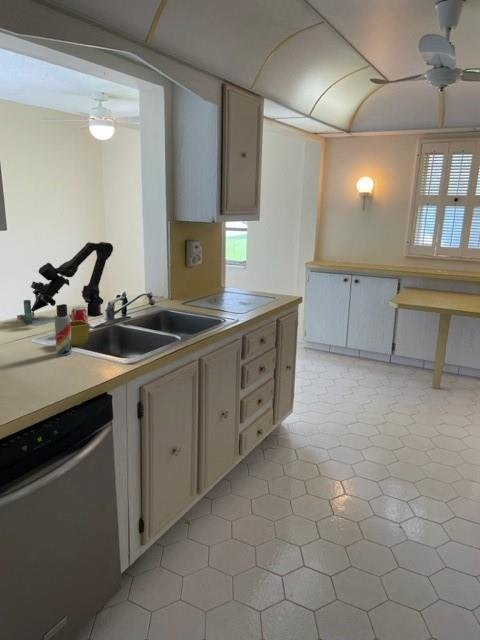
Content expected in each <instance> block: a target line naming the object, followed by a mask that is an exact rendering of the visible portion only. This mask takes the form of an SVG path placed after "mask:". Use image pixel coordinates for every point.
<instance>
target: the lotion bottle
mask: <svg viewBox="0 0 480 640" xmlns="http://www.w3.org/2000/svg"><path fill="white" fill-rule="evenodd" d="M55 305H56V304H55ZM55 308H56V315H55V316H54V319H55V322H54V331H55V332H54V333H55V348H56V350H55V351H56V354H57V356H60V357H62V356H69V355H71V354H72V353H73V347H72V346H73V345H72V342H71V323H70V322H71V315H69V314H68V305H67V303H62V304H58V305H56V307H55Z"/></svg>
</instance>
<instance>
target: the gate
mask: <svg viewBox="0 0 480 640" xmlns="http://www.w3.org/2000/svg"><path fill="white" fill-rule="evenodd" d="M31 309H32V302H31V299H25V300H23V310H24V315H25V323H26V324H25V325H28V324H31V323H32V320H33V319H34V317H35V314H34V315H32V311H31Z"/></svg>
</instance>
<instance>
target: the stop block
mask: <svg viewBox="0 0 480 640" xmlns="http://www.w3.org/2000/svg"><path fill="white" fill-rule="evenodd" d="M16 318H17V319H16V323H18V322H21V323H20V324H23V323H22V322H25V314H18V315H16Z"/></svg>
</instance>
